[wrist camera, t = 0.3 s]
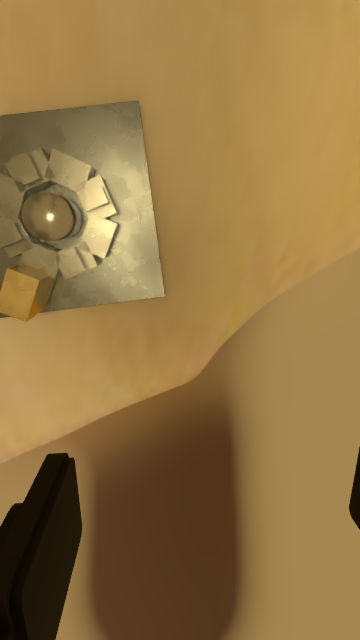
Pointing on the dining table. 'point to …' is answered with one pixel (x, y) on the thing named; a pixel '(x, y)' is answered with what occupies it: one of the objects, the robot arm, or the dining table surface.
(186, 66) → the dining table surface
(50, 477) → the robot arm
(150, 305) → the dining table surface
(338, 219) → the dining table surface
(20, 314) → the cream block ring
